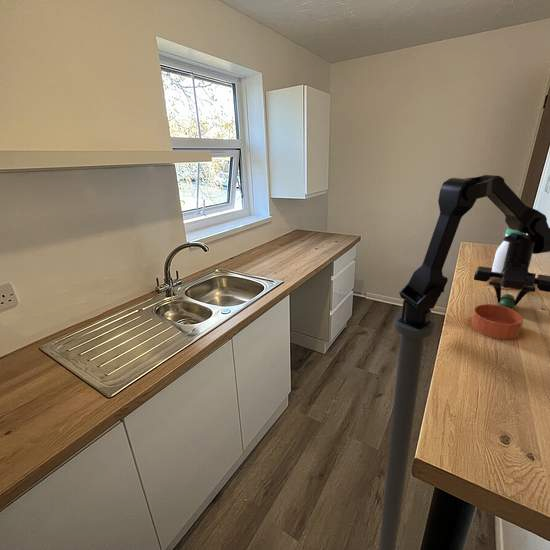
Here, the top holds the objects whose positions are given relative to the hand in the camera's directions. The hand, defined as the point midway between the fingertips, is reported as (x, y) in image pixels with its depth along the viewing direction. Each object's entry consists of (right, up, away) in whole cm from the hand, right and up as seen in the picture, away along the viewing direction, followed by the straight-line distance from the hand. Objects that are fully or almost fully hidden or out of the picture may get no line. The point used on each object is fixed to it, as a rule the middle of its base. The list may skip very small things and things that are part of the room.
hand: (506, 303), depth 92 cm
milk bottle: (+10, +5, +15) cm, 18 cm away
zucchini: (0, -1, +1) cm, 1 cm away
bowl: (-10, -6, -8) cm, 14 cm away
